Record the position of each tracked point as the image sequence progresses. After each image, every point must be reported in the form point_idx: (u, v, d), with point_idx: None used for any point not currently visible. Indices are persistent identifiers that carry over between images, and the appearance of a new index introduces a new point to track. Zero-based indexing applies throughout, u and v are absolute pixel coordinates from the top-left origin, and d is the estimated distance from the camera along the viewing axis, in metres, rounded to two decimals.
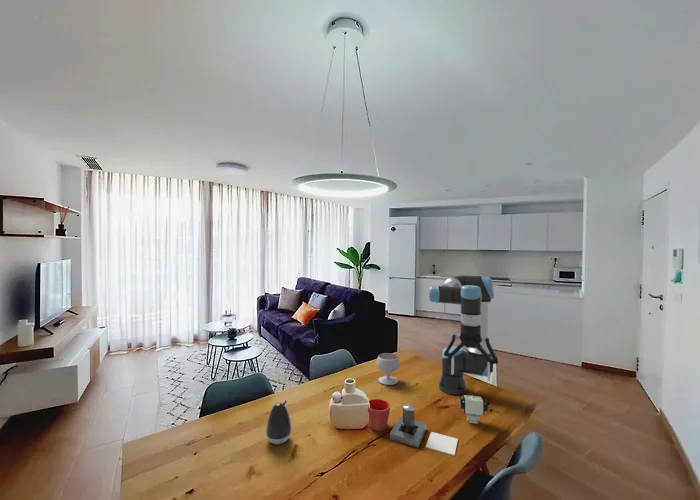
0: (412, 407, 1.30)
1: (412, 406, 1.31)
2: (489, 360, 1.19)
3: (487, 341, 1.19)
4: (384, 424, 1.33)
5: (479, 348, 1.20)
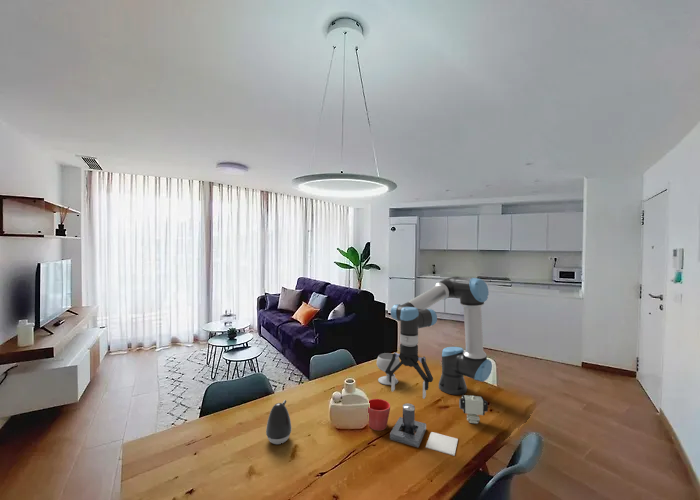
0: (412, 407, 1.30)
1: (412, 406, 1.31)
2: (424, 379, 1.26)
3: (422, 361, 1.27)
4: (384, 424, 1.33)
5: (415, 367, 1.28)
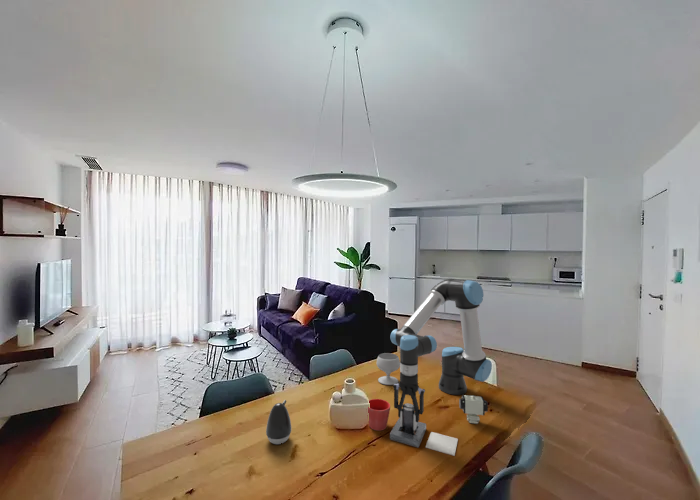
0: (412, 407, 1.30)
1: (412, 406, 1.31)
2: (416, 410, 1.28)
3: (422, 393, 1.27)
4: (384, 424, 1.33)
5: (412, 397, 1.28)
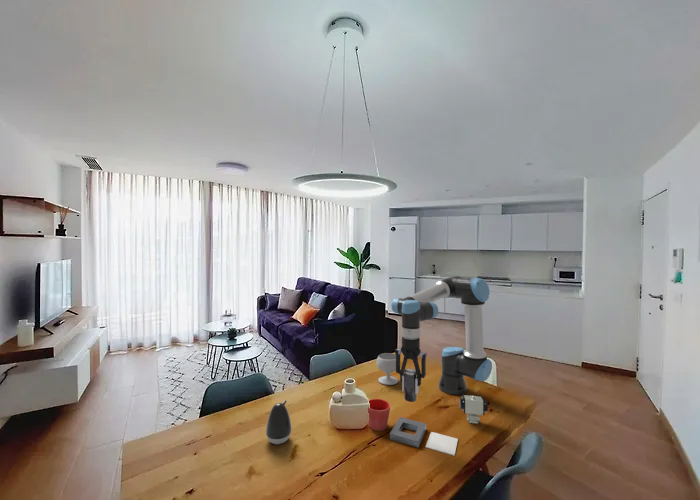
0: (414, 371, 1.29)
1: (414, 371, 1.30)
2: (418, 374, 1.28)
3: (423, 357, 1.27)
4: (384, 424, 1.33)
5: (414, 361, 1.28)
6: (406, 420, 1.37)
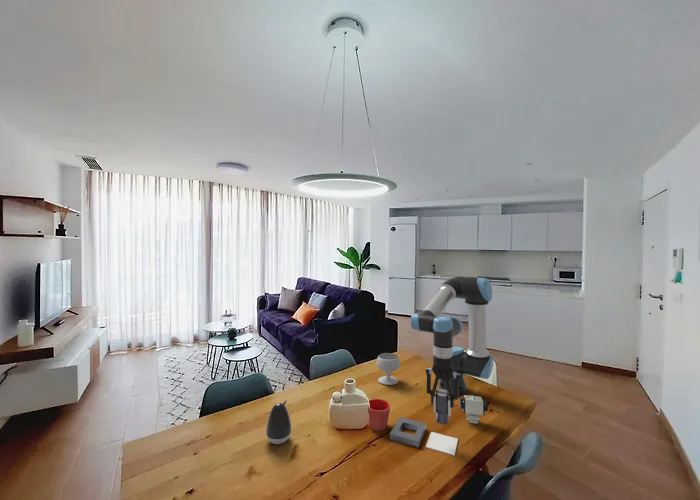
0: (446, 392, 1.23)
1: (446, 391, 1.24)
2: (451, 395, 1.22)
3: (457, 377, 1.21)
4: (384, 424, 1.33)
5: (447, 382, 1.22)
6: (406, 420, 1.37)
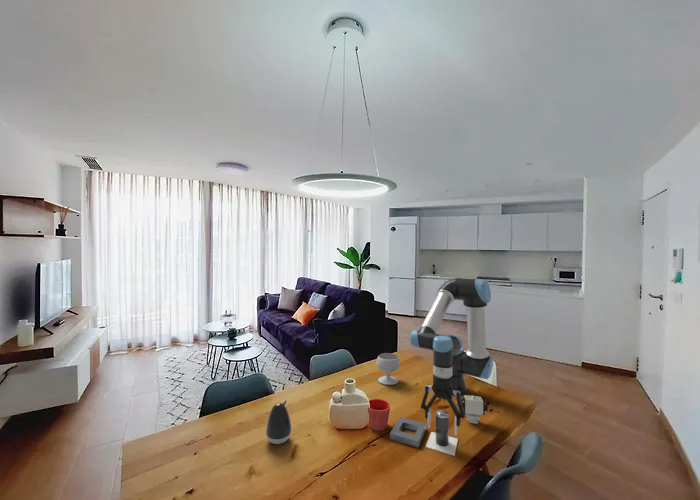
0: (446, 414, 1.24)
1: (446, 413, 1.24)
2: (456, 414, 1.21)
3: (458, 395, 1.21)
4: (384, 424, 1.33)
5: (449, 401, 1.22)
6: (406, 420, 1.37)
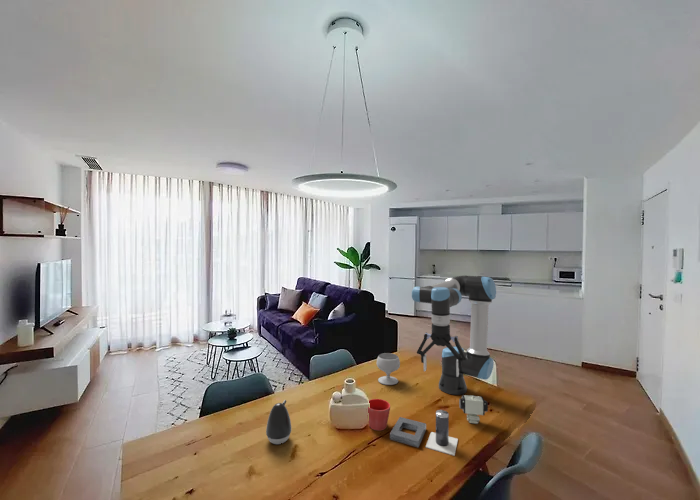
0: (446, 414, 1.24)
1: (446, 413, 1.25)
2: (457, 357, 1.27)
3: (455, 340, 1.27)
4: (384, 424, 1.33)
5: (448, 346, 1.28)
6: (406, 420, 1.37)
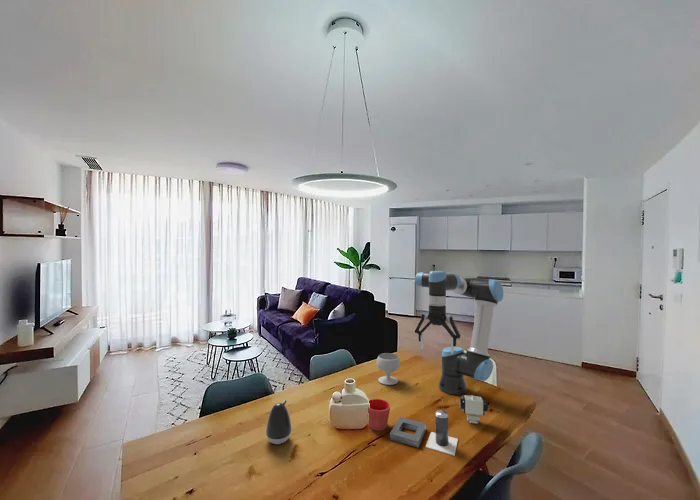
0: (446, 414, 1.24)
1: (445, 413, 1.25)
2: (452, 335, 1.36)
3: (451, 319, 1.36)
4: (384, 424, 1.33)
5: (444, 325, 1.37)
6: (406, 420, 1.37)
